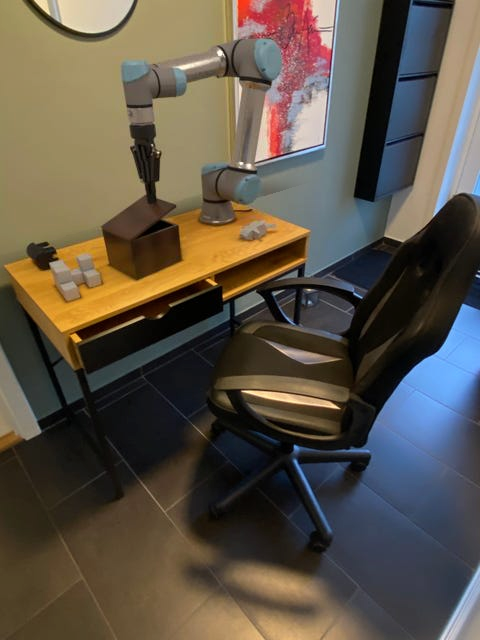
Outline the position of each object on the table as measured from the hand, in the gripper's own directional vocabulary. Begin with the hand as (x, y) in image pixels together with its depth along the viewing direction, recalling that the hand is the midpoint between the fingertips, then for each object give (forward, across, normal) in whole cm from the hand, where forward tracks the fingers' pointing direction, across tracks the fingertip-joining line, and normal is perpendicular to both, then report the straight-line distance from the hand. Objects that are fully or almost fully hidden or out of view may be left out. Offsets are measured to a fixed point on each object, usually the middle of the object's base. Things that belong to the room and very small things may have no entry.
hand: (152, 202), depth 130 cm
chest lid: (+4, 0, -6) cm, 7 cm away
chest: (+20, 0, -6) cm, 20 cm away
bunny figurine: (+20, +13, +38) cm, 45 cm away
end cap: (+20, -25, -30) cm, 44 cm away
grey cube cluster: (+20, -1, -30) cm, 36 cm away
